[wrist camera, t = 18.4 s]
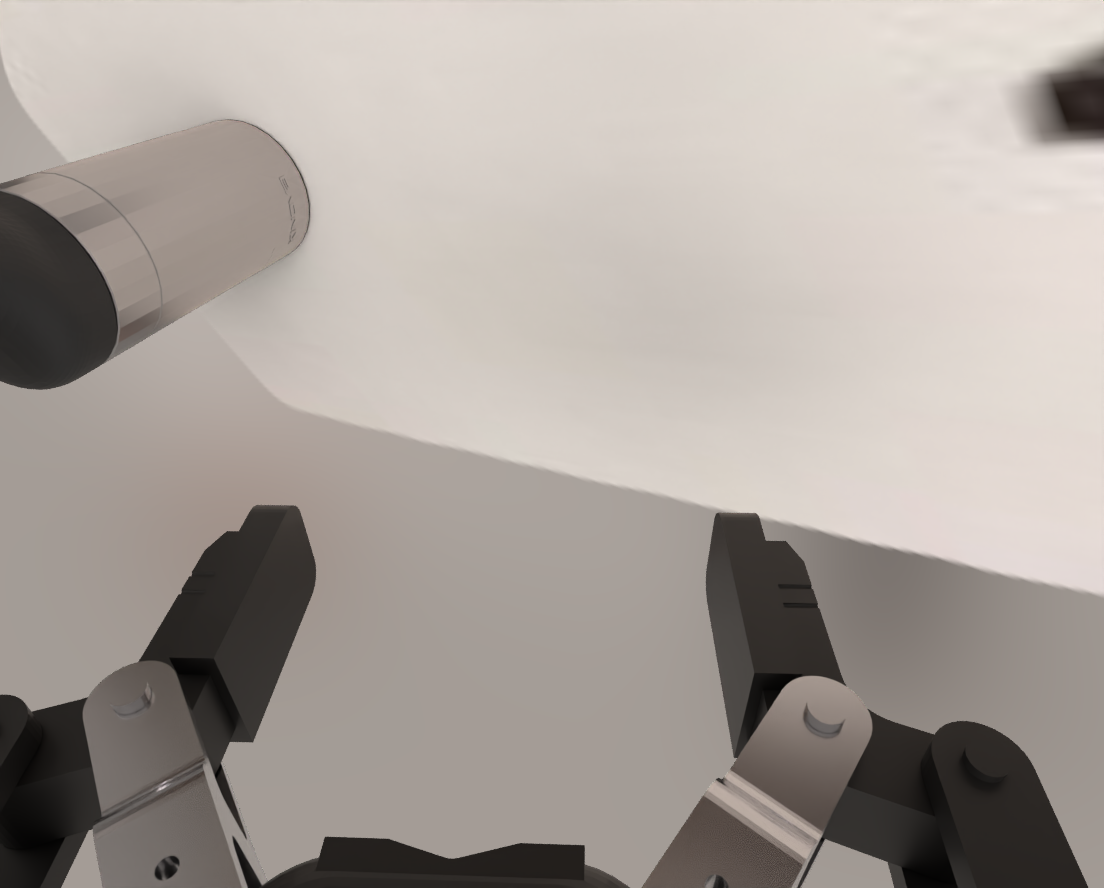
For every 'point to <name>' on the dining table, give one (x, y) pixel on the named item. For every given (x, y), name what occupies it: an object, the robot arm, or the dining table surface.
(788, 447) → the dining table surface
